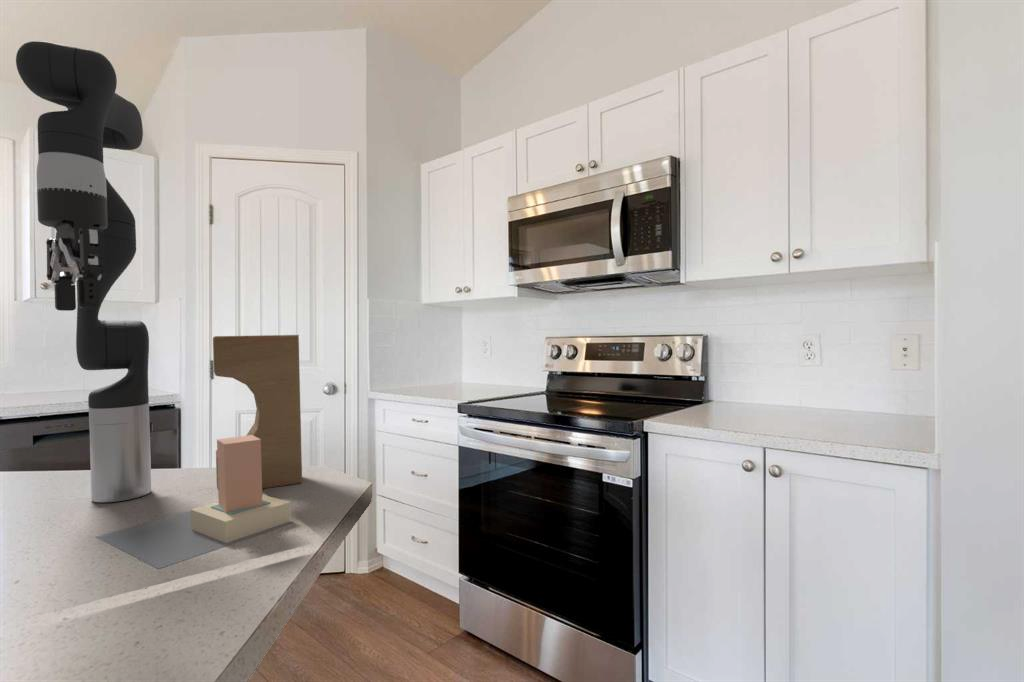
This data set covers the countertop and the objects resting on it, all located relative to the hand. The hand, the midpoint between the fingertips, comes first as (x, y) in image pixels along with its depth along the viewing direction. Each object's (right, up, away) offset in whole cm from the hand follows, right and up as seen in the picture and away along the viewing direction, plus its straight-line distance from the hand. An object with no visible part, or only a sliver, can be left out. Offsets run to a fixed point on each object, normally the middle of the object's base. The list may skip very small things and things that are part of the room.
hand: (76, 309), depth 75 cm
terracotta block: (+19, -30, +7) cm, 36 cm away
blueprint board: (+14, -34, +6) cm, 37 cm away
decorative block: (+10, -34, +33) cm, 48 cm away
